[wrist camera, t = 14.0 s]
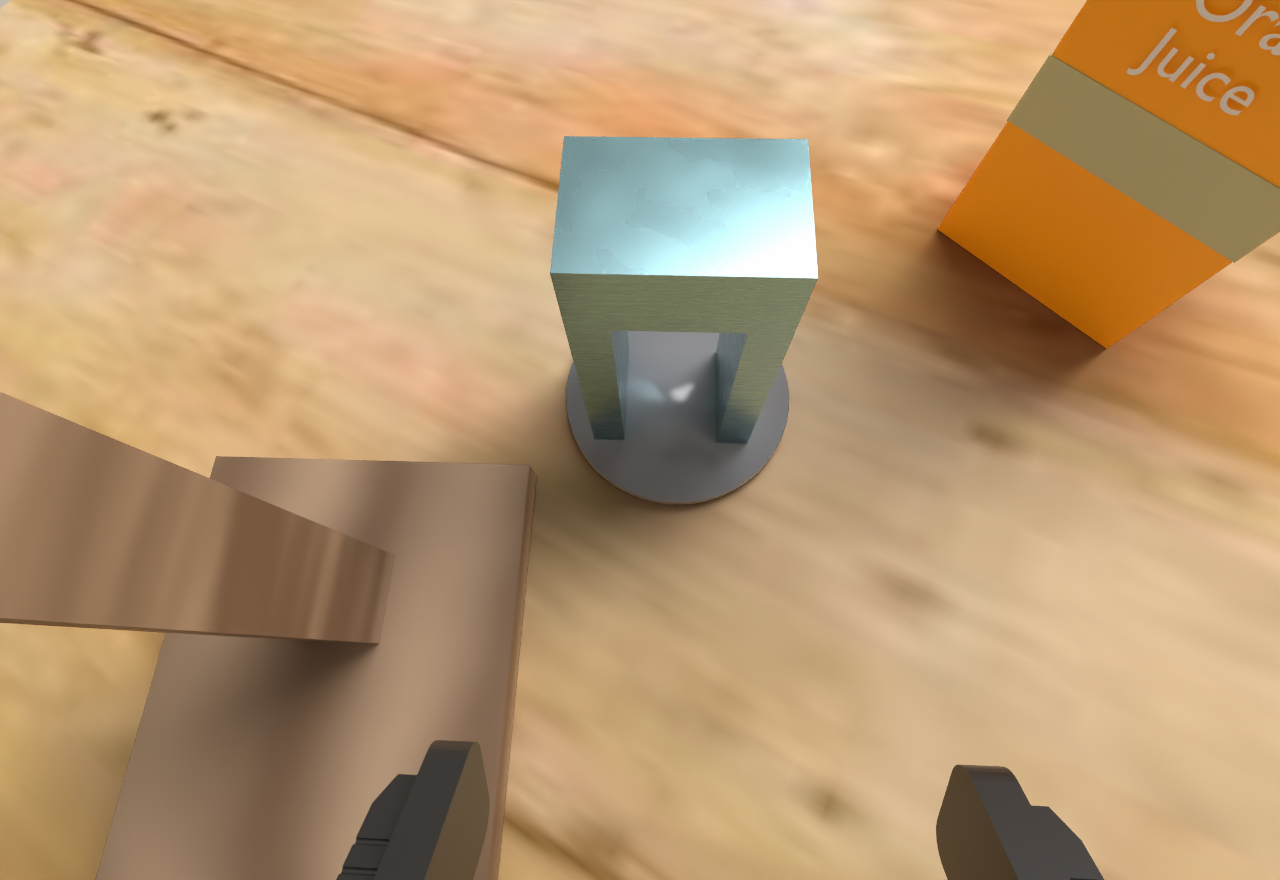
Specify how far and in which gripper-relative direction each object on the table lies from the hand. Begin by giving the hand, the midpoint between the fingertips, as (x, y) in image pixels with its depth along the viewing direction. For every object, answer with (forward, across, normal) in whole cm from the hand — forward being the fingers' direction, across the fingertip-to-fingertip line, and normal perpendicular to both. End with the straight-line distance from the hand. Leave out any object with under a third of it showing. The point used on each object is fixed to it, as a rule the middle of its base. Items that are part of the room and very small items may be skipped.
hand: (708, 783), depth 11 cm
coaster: (+17, +1, 0) cm, 17 cm away
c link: (+16, +1, -1) cm, 16 cm away
